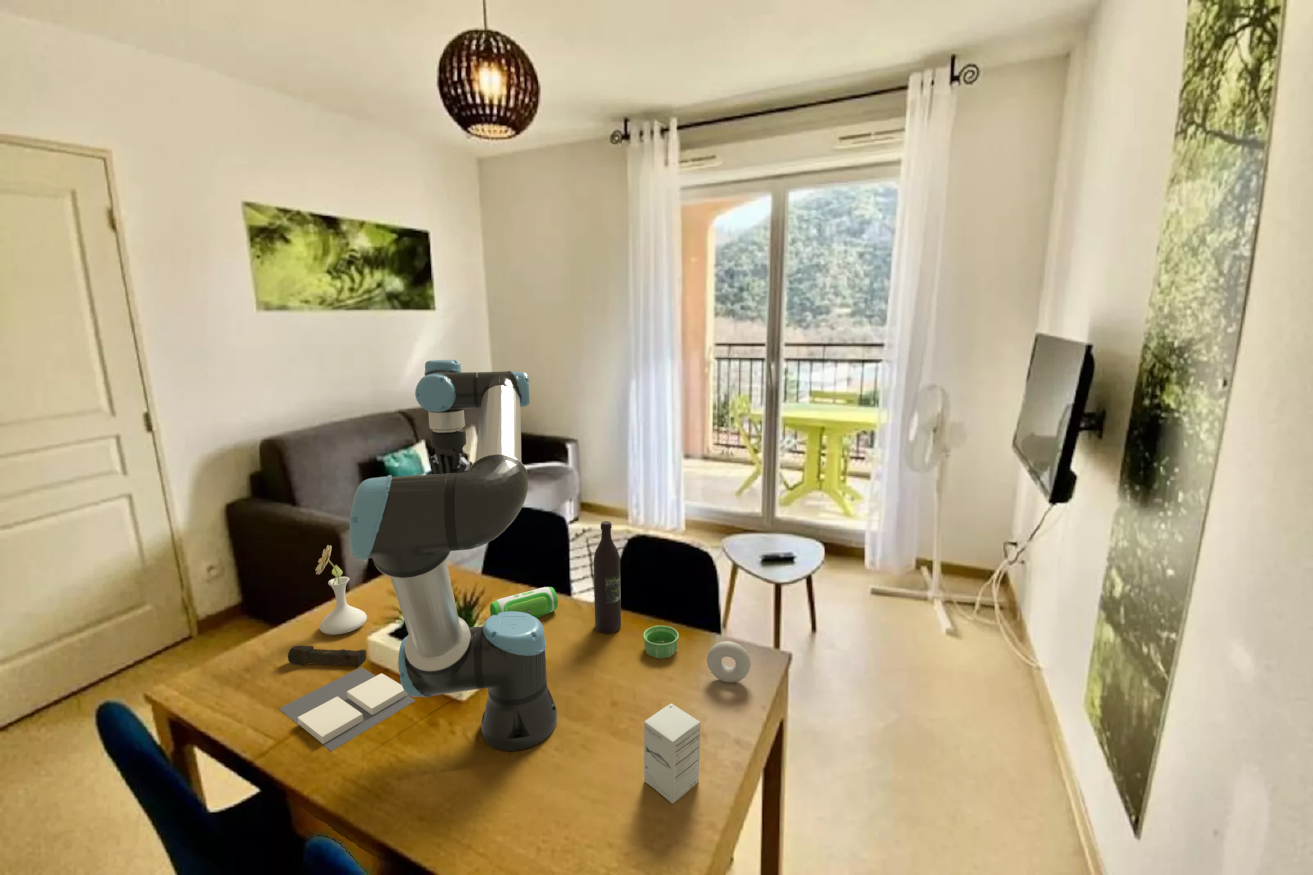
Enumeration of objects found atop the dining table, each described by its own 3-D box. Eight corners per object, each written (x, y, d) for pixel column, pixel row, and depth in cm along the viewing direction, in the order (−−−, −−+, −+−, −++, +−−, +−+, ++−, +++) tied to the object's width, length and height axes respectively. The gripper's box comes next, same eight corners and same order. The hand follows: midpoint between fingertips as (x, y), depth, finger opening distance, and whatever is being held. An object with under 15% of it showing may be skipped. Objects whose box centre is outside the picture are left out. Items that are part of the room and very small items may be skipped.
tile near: (338, 703, 122) (363, 721, 117) (298, 724, 116) (323, 744, 110) (337, 696, 122) (362, 713, 117) (297, 717, 116) (322, 736, 110)
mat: (416, 702, 123) (415, 700, 123) (331, 754, 109) (331, 751, 109) (361, 669, 136) (361, 666, 135) (278, 711, 121) (278, 708, 121)
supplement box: (642, 782, 102) (642, 720, 100) (671, 760, 107) (671, 701, 105) (672, 806, 97) (672, 742, 94) (700, 782, 102) (701, 720, 100)
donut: (705, 682, 130) (706, 643, 128) (707, 673, 134) (708, 635, 132) (749, 689, 128) (750, 649, 126) (750, 680, 131) (751, 640, 129)
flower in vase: (329, 619, 159) (318, 534, 154) (373, 615, 161) (363, 532, 156) (310, 644, 146) (298, 553, 141) (358, 640, 148) (347, 550, 143)
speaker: (498, 633, 151) (496, 607, 150) (490, 621, 157) (488, 596, 156) (559, 615, 161) (558, 590, 159) (549, 605, 167) (548, 581, 165)
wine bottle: (605, 637, 149) (603, 529, 143) (589, 626, 154) (587, 522, 148) (626, 627, 154) (625, 523, 148) (610, 617, 159) (608, 516, 153)
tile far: (382, 679, 131) (407, 695, 125) (347, 698, 124) (372, 715, 119) (381, 673, 130) (407, 688, 125) (346, 691, 124) (371, 708, 118)
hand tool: (369, 661, 139) (367, 644, 138) (359, 671, 135) (357, 653, 134) (297, 657, 141) (295, 640, 140) (285, 666, 137) (283, 649, 136)
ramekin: (636, 649, 144) (635, 633, 143) (662, 636, 150) (662, 621, 149) (659, 665, 137) (659, 648, 136) (686, 651, 143) (686, 635, 142)
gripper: (480, 429, 127) (486, 529, 131) (444, 423, 134) (451, 518, 138) (451, 434, 121) (459, 539, 125) (415, 428, 128) (424, 527, 132)
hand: (455, 528), depth 132 cm, fingers closed
